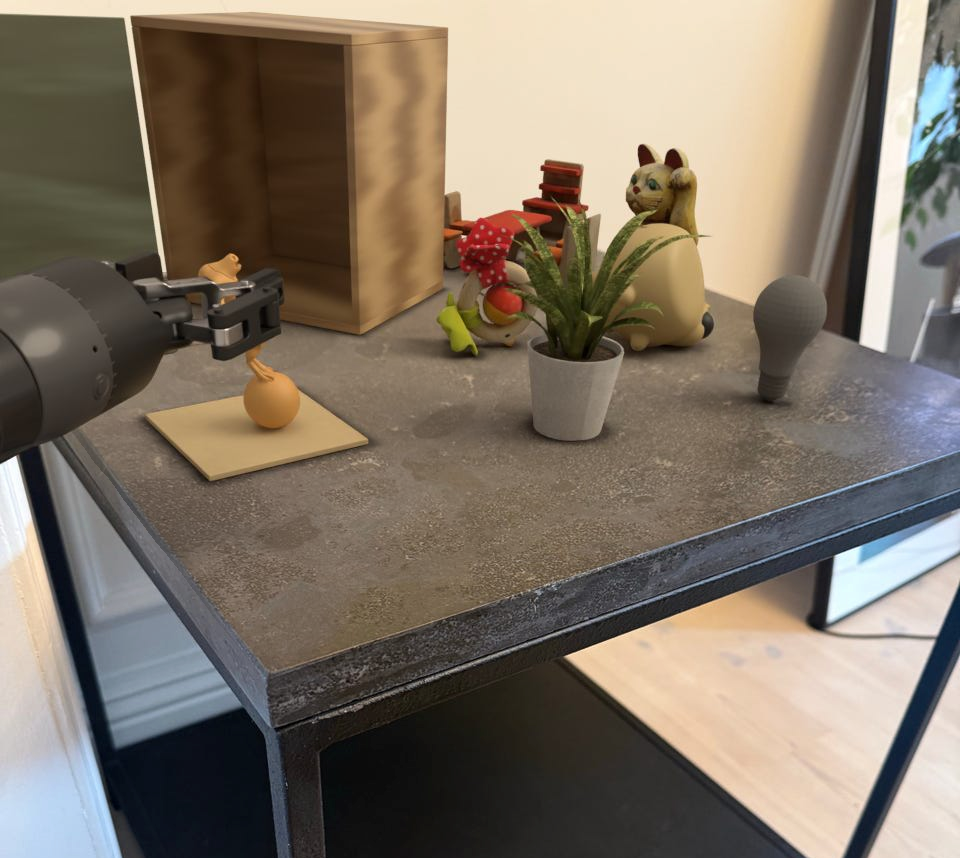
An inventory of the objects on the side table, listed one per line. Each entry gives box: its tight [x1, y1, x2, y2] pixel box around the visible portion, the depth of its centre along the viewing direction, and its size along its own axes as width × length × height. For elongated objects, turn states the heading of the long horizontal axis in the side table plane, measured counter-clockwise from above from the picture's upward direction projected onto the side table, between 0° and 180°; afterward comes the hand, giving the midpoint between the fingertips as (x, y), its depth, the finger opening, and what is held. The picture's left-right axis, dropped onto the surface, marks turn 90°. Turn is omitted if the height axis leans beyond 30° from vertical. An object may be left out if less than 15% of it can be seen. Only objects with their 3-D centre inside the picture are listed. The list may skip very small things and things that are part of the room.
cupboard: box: [129, 11, 449, 336], centre depth 91 cm, size 18×22×24 cm
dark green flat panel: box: [0, 13, 160, 279], centre depth 85 cm, size 7×22×23 cm, turn 112°
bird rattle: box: [436, 217, 538, 357], centre depth 84 cm, size 6×11×9 cm
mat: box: [144, 389, 369, 482], centre depth 69 cm, size 12×12×1 cm
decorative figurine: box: [625, 143, 699, 247], centre depth 97 cm, size 10×8×15 cm
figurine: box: [198, 254, 300, 428], centre depth 65 cm, size 8×6×12 cm
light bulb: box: [752, 274, 828, 402], centre depth 76 cm, size 6×6×10 cm
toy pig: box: [592, 223, 715, 352], centre depth 87 cm, size 10×12×11 cm
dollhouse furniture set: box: [443, 158, 602, 292], centre depth 109 cm, size 19×19×10 cm
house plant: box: [499, 198, 713, 442], centre depth 68 cm, size 14×14×16 cm
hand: (215, 276), depth 60 cm, fingers open, 8 cm apart
